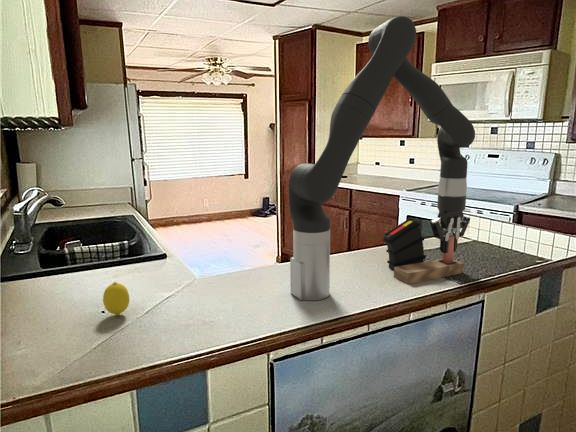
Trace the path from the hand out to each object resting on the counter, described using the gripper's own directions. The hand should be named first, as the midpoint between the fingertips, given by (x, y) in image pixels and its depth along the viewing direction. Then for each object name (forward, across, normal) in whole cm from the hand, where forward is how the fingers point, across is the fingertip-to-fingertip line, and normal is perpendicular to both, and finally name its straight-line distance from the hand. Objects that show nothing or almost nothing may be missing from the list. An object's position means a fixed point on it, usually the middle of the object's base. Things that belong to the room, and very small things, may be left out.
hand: (448, 251), depth 124 cm
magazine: (+6, +9, -9) cm, 14 cm away
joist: (+6, +6, 0) cm, 9 cm away
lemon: (+6, +90, -10) cm, 91 cm away
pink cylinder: (+3, 0, 0) cm, 3 cm away
